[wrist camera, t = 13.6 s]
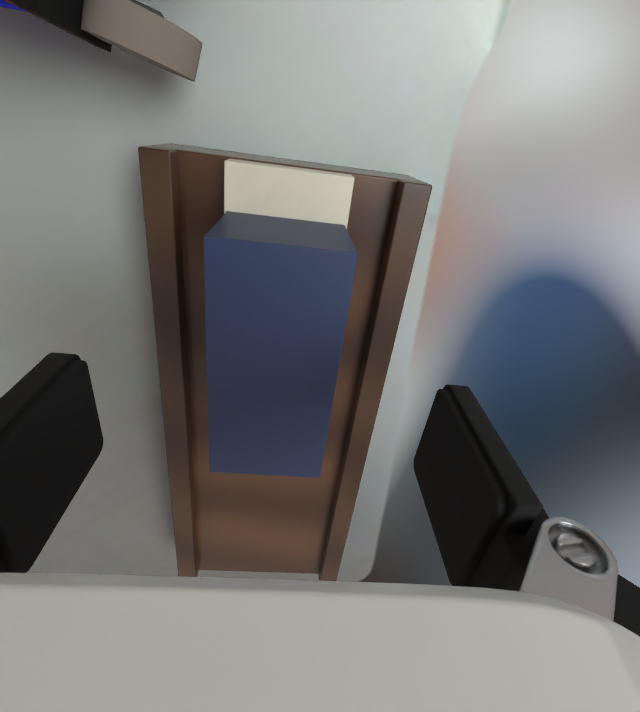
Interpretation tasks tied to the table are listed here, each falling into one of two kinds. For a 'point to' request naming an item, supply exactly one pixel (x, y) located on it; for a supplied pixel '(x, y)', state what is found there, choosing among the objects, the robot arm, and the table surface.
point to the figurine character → (121, 30)
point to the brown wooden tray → (189, 368)
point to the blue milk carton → (276, 316)
